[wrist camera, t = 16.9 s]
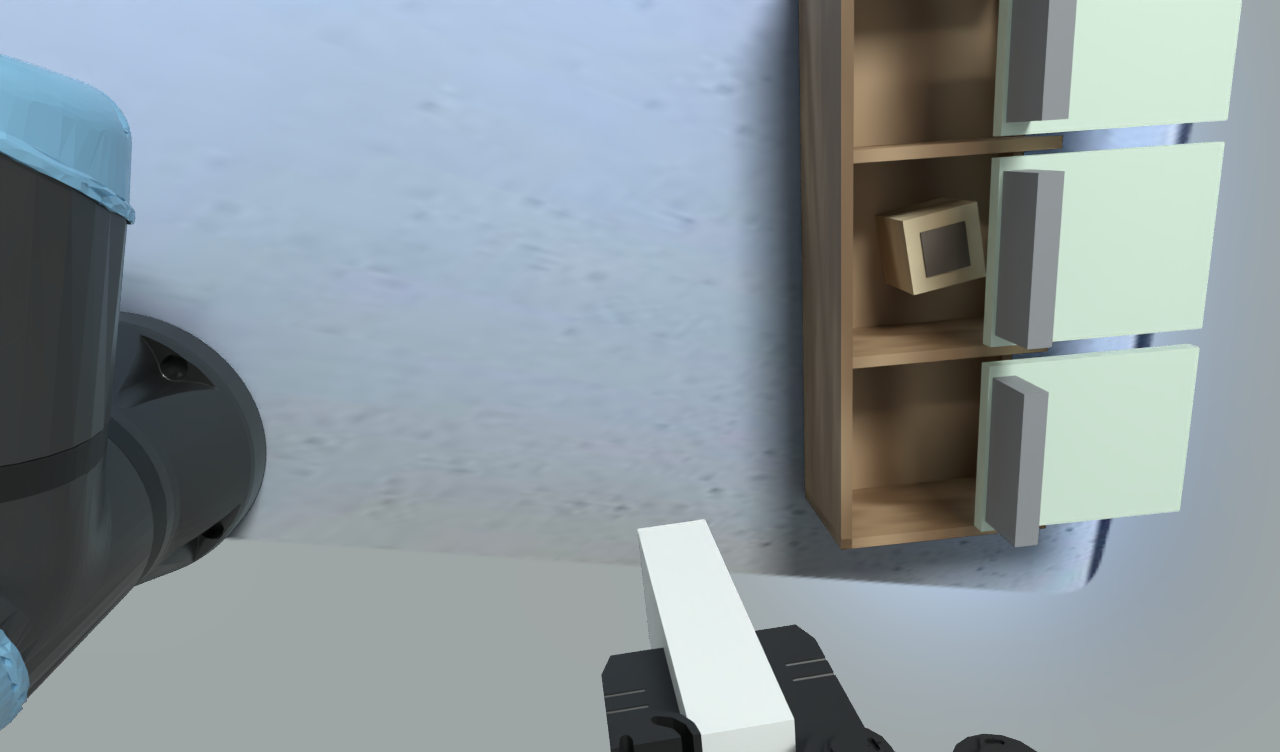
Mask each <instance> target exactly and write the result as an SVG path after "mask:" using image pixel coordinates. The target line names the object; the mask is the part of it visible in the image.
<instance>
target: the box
mask: <svg viewBox="0 0 1280 752" xmlns="http://www.w3.org/2000/svg"><path fill="white" fill-rule="evenodd" d="M998 18H999V0H799V65H800V142H801V220H802V297H803V375H804V452H805V498H806V499H807V501H808V502H809V504H810V505H811V507H812V508H813V509H814V511H815V512H816V514H817V515H818V517H819V518H820V520H821V521H822V523H823V524H824V525H825V527H826V528H827V530H828V531H829V533H830V534H831V536H832V537H833V539H834V540H835V541H836V543H837V544H838V546H839V547H840V549H841V550H843V549H852V548H862V547H871V546H881V545H890V544H900V543H909V542H919V541H928V540H938V539H947V538H957V537H966V536H976V535H985V534H995V533H998V532H997V531H996V530H993V531H984V532H981V531H980V530H979V529H978V528H977V527H975V526H974V516H975V496H976V475H977V454H978V433H979V413H980V392H981V371H982V362H993V361H1004V360H1012V354H1021V353H1032V352H1044V351H1048V348H1038V349H1025V348H1023V347H1021V346H1018V345H1010V346H999V347H989V346H987V345H985V344H983V331H984V310H985V289H986V277H982V278H978V279H974V280H970V281H966V282H963V283H959V284H955V285H951V286H947V287H944V288H940V289H936V290H932V291H928V292H924V293H921V294H917V295H912V294H910V293H908V292H905V291H903V290H901V289H898V288H896V287H894V286H891V285H889V284H887V283H886V281H885V275H884V269H883V263H882V257H881V250H880V244H879V238H878V232H877V225H876V219H875V215H876V214H880V213H884V212H888V211H892V210H896V209H900V208H903V207H907V206H911V205H915V204H919V203H923V202H926V201H930V200H934V199H938V198H942V197H945V198H952V199H960V200H967V201H974V202H977V206H978V214H979V222H980V230H981V238H982V246H983V254H984V262H985V270H986V268H987V248H988V227H989V206H990V186H991V165H992V158H998V157H1012V156H1024V151H1032V150H1046V149H1059V148H1062V142H1063V136H1025V135H1011V136H993V121H994V101H995V80H996V59H997V38H998ZM1043 528H1046V525H1041V526H1039V529H1043Z"/></svg>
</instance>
